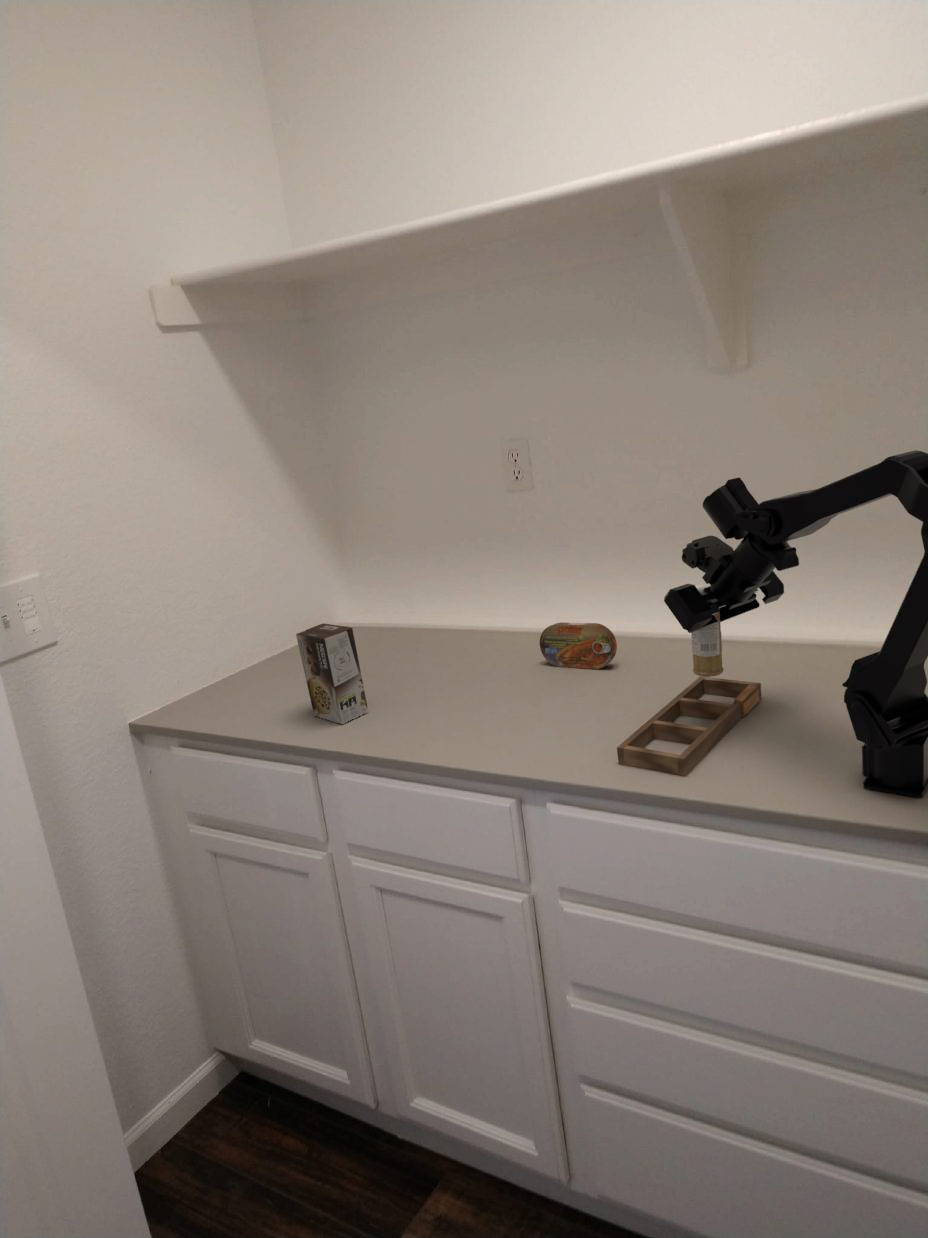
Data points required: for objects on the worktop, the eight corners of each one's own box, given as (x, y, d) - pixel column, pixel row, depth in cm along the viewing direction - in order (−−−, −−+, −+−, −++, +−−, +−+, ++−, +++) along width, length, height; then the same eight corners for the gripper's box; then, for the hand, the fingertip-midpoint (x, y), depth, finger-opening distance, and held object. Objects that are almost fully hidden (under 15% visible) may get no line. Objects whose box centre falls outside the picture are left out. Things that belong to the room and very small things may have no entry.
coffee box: (370, 712, 153) (354, 627, 148) (341, 725, 148) (324, 638, 144) (340, 703, 159) (323, 621, 155) (312, 716, 155) (294, 632, 151)
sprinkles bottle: (725, 668, 131) (722, 583, 128) (720, 678, 127) (716, 591, 124) (695, 667, 133) (691, 584, 130) (689, 677, 129) (685, 591, 126)
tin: (541, 666, 163) (535, 624, 160) (549, 660, 165) (543, 619, 163) (614, 671, 154) (609, 627, 152) (621, 665, 157) (616, 621, 154)
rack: (764, 698, 133) (763, 681, 132) (688, 776, 113) (686, 757, 112) (700, 690, 140) (699, 674, 139) (618, 763, 119) (616, 745, 118)
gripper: (764, 507, 124) (714, 571, 137) (666, 534, 116) (623, 600, 129) (811, 565, 120) (755, 626, 132) (713, 597, 112) (663, 659, 124)
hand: (699, 626), depth 129 cm, fingers closed on sprinkles bottle, 4 cm apart
